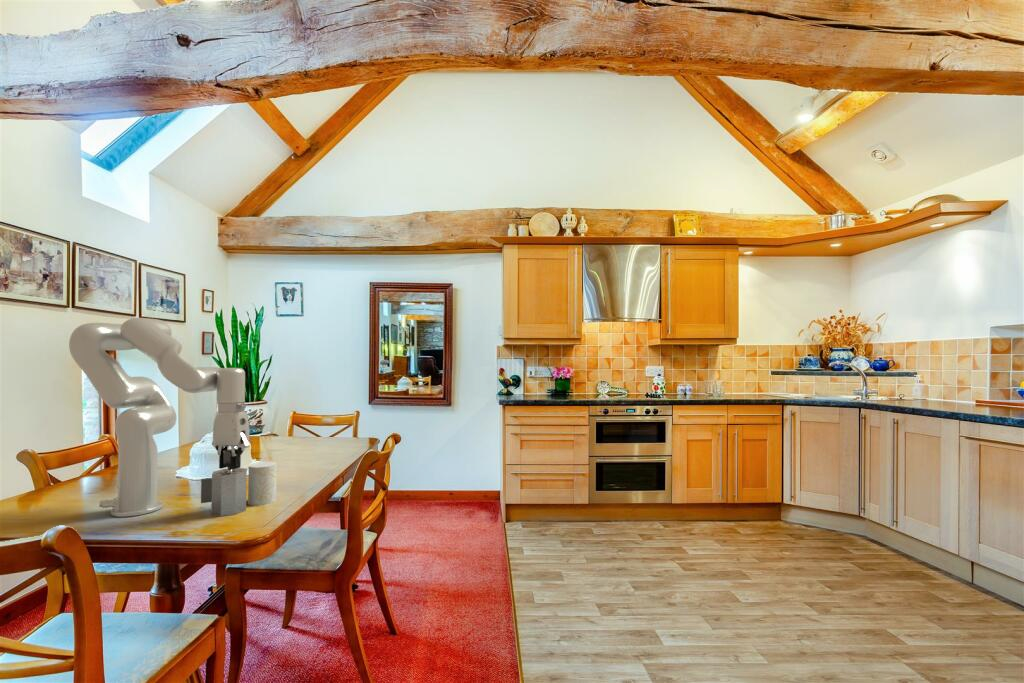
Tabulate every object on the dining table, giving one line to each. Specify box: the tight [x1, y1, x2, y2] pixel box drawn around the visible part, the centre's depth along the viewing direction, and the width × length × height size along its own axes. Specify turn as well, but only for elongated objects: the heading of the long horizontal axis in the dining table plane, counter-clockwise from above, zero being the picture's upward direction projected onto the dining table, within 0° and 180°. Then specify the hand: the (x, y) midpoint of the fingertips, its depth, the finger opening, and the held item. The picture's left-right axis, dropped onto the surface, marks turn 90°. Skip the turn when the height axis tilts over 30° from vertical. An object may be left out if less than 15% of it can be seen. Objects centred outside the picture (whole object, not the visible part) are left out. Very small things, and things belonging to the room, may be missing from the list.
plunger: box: [223, 448, 238, 473], centre depth 148 cm, size 4×4×17 cm
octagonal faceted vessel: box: [200, 467, 248, 517], centre depth 147 cm, size 12×9×12 cm
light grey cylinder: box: [247, 461, 278, 506], centre depth 157 cm, size 8×8×12 cm
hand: (229, 467), depth 148 cm, fingers closed on plunger, 3 cm apart
